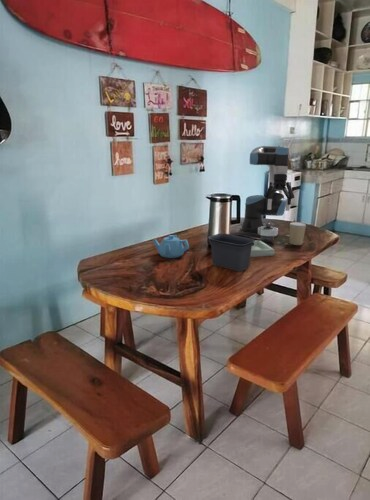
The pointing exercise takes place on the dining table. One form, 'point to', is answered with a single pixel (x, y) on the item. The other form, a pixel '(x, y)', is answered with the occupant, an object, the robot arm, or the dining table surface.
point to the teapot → (171, 246)
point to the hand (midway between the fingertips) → (278, 210)
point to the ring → (267, 231)
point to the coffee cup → (296, 233)
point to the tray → (261, 249)
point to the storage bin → (231, 251)
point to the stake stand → (267, 238)
